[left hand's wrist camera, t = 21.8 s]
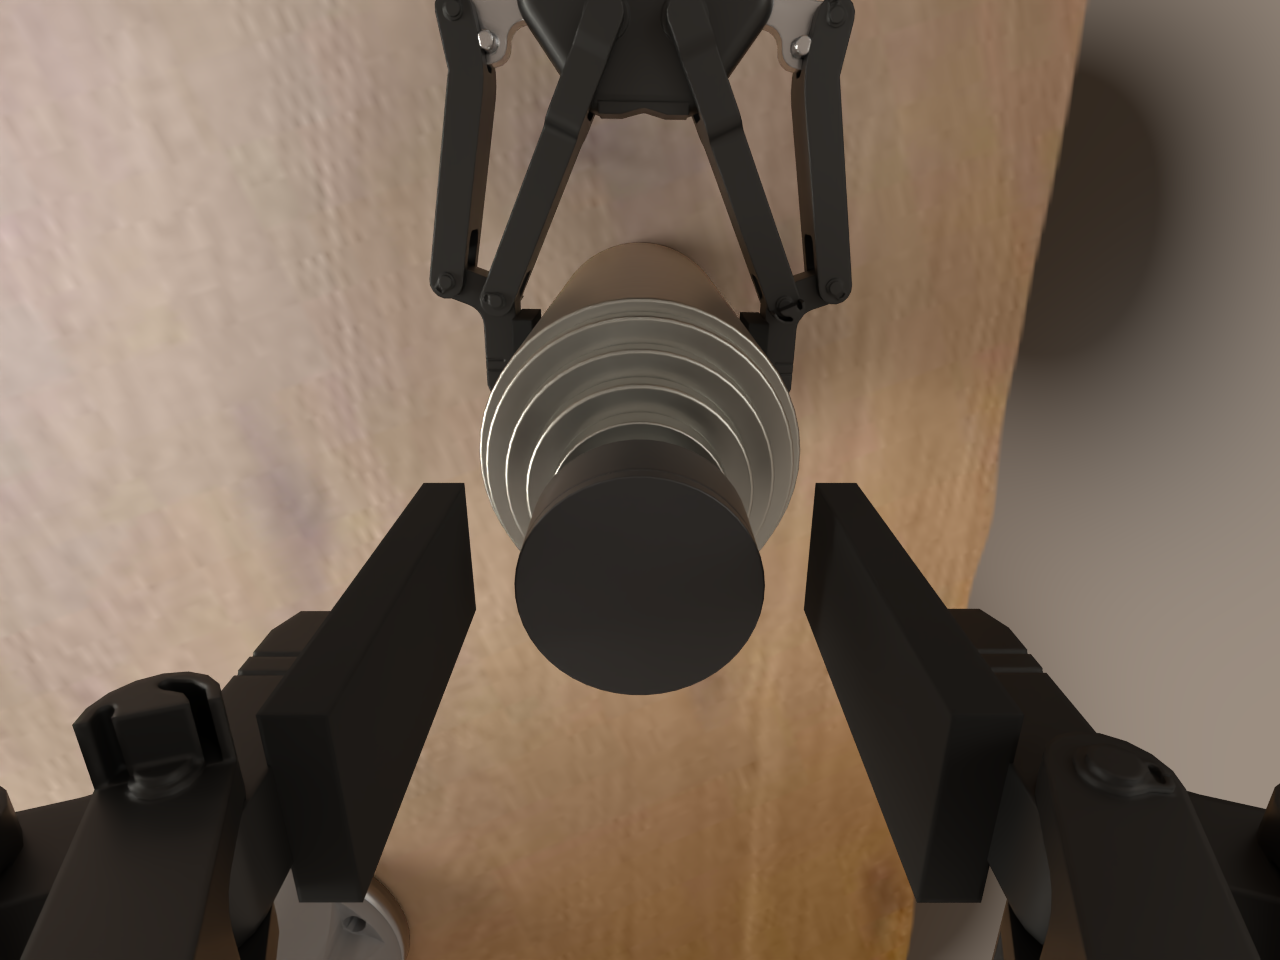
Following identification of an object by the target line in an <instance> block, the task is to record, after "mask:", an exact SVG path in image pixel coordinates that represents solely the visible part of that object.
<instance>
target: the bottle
mask: <svg viewBox="0 0 1280 960" xmlns="http://www.w3.org/2000/svg"><path fill="white" fill-rule="evenodd" d="M633 439H642V440H655V441H663V442H667V443H671V444H675V445H678V446H681V447H683V448H686V449H688V450H691V451H693V452H694V453H696V454H698V455H700V456H702V457H703V458H705V459H706V460H708V461H709V462H710V463H712V464H713V465H714V466H716V467H717V468H718V469H719V470H720V471H721V472H722V473H723V474H724V475H725V476H726V477H727V479H728V480H729V481H730V482H731V484H732V485H733V486H734V488H735V489H736V491H737V493H738V495H739V497H740V498H741V500H742V503H743V505H744V508H745V511H746V513H747V516H748V519H749V523H750V526H751V529H752V532H753V535H754V538H755V541H756V544H757V547H758V550H759V551H760V550H761V549H762V547H763V546H764V545H765V543H766V542H767V540H768V539H769V538H770V536H771V535H772V533H773V532H774V530H775V529H776V527H777V526H778V524H779V522H780V521H781V519H782V517H783V515H784V513H785V511H786V509H787V507H788V505H789V502H790V499H791V496H792V494H793V491H794V488H795V483H796V479H797V474H798V470H799V458H800V440H799V428H798V423H797V418H796V413H795V409H794V406H793V403H792V401H791V398H790V395H789V392H788V390H787V388H786V386H785V384H784V382H783V380H782V378H781V377H780V375H779V373H778V371H777V370H776V369H775V367H774V366H773V364H772V363H771V362H770V360H769V359H768V357H767V356H766V355H765V353H764V352H763V351H762V349H761V348H760V346H759V345H758V344H757V342H756V341H755V340H754V338H753V337H752V336H751V334H750V333H749V332H748V330H747V329H746V327H745V326H744V325H743V323H742V322H741V321H740V319H739V318H738V317H737V315H736V314H735V313H734V311H733V310H732V309H731V307H730V306H729V304H728V303H727V302H726V300H725V299H724V298H723V296H722V295H721V294H720V292H719V291H718V290H717V288H716V287H715V285H714V284H713V283H712V281H711V280H710V279H709V277H708V276H707V275H706V273H705V272H704V271H703V270H702V269H701V268H700V267H699V266H698V265H697V264H696V263H694V262H693V261H692V260H691V259H690V258H688V257H686V256H685V255H683V254H682V253H680V252H678V251H676V250H673V249H671V248H669V247H665V246H662V245H658V244H652V243H628V244H622V245H618V246H615V247H611V248H609V249H606V250H604V251H602V252H600V253H598V254H597V255H595V256H593V257H592V258H590V259H589V260H588V261H587V262H585V263H584V264H583V265H582V266H581V267H580V268H579V269H578V270H577V271H576V272H575V273H574V274H573V276H572V277H571V278H570V280H569V281H568V282H567V284H566V285H565V286H564V288H563V289H562V291H561V292H560V293H559V295H558V296H557V297H556V299H555V300H554V301H553V303H552V304H551V305H550V307H549V308H548V309H547V311H546V312H545V313H544V315H543V316H542V317H541V319H540V320H539V322H538V323H537V324H536V326H535V327H534V328H533V330H532V331H531V332H530V334H529V335H528V336H527V338H526V339H525V340H524V342H523V343H522V344H521V346H520V347H519V349H518V350H517V351H516V353H515V354H514V355H513V357H512V358H511V359H510V361H509V362H508V364H507V365H506V367H505V368H504V369H503V371H502V372H501V374H500V376H499V378H498V379H497V381H496V383H495V385H494V387H493V389H492V391H491V394H490V397H489V399H488V402H487V405H486V408H485V411H484V416H483V421H482V426H481V432H480V450H479V451H480V463H481V472H482V476H483V481H484V485H485V490H486V492H487V495H488V498H489V500H490V503H491V506H492V508H493V510H494V512H495V514H496V516H497V517H498V519H499V521H500V523H501V525H502V526H503V528H504V529H505V531H506V533H507V534H508V535H509V537H510V538H511V540H512V541H513V542H514V544H515V545H516V547H517V548H518V549H519V550H520V551H521V548H522V545H523V542H524V539H525V536H526V533H527V530H528V527H529V524H530V521H531V518H532V514H533V511H534V509H535V506H536V504H537V501H538V499H539V497H540V495H541V494H542V492H543V490H544V489H545V487H546V485H547V484H548V483H549V482H550V480H551V479H552V478H553V477H554V475H555V474H556V473H558V472H559V471H560V470H561V469H562V468H563V467H564V466H565V465H566V464H568V463H569V462H570V461H572V460H573V459H575V458H576V457H578V456H580V455H581V454H583V453H585V452H587V451H589V450H591V449H594V448H596V447H599V446H601V445H604V444H609V443H612V442H617V441H624V440H633Z"/></svg>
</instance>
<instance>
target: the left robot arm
mask: <svg viewBox="0 0 1280 960" xmlns="http://www.w3.org/2000/svg"><path fill="white" fill-rule="evenodd" d="M475 611H476V604H475V593H474V582H473V571H472V561H471V550H470V539H469V528H468V518H467V507H466V496H465V485H464V483H423V485H422V486H421V487H420V489H419V490H418V492H417V493H416V494H415V496H414V497H413V498H412V500H411V501H410V503H409V504H408V505H407V507H406V508H405V510H404V511H403V512H402V514H401V515H400V516H399V518H398V519H397V521H396V522H395V523H394V525H393V526H392V527H391V529H390V530H389V532H388V533H387V534H386V536H385V537H384V538H383V540H382V541H381V543H380V544H379V545H378V547H377V548H376V550H375V551H374V552H373V554H372V555H371V556H370V558H369V559H368V561H367V562H366V563H365V565H364V566H363V567H362V569H361V570H360V572H359V573H358V574H357V576H356V577H355V578H354V580H353V581H352V583H351V584H350V585H349V587H348V588H347V590H346V591H345V592H344V594H343V595H342V596H341V598H340V599H339V601H338V602H337V603H336V605H335V606H334V607H333V609H332V610H331V611H301V612H299V613H298V614H296V615H294V616H293V617H291V618H290V619H288V620H287V621H285V622H284V623H282V624H281V625H279V626H277V627H276V628H274V629H273V630H271V632H270V633H269V634H268V635H267V636H266V638H265V639H264V640H263V641H262V643H261V644H260V645H259V646H258V647H257V649H256V650H255V651H254V652H253V657H249V658H248V659H247V661H246V662H245V663H244V664H243V665H242V667H241V668H240V669H239V670H238V675H237V676H233V678H232V679H231V680H230V681H229V682H228V684H227V685H226V686H225V687H224V688H223V690H222V691H221V689H220V685H219V683H217V682H216V681H215V680H214V679H212V678H211V677H210V676H208V675H204V674H199V673H193V672H177V673H164V674H160V675H156V676H152V677H149V678H145V679H141V680H137V681H134V682H132V683H130V684H128V685H125V686H123V687H121V688H119V689H117V690H114V691H112V692H110V693H108V694H107V695H105V696H104V697H102V698H101V699H99V700H98V701H96V702H95V703H93V704H92V705H91V706H89V707H88V708H86V709H85V711H84V712H83V713H82V714H81V715H80V717H79V718H78V719H77V720H76V721H75V722H74V724H73V725H72V726H73V728H74V731H75V734H76V737H77V740H78V743H79V746H80V749H81V752H82V755H83V757H84V760H85V763H86V766H87V769H88V772H89V775H90V778H91V781H92V784H93V786H94V789H95V790H94V792H93V794H92V795H89V796H85V797H82V798H77V799H73V800H68V801H64V802H59V803H55V804H50V805H46V806H41V807H37V808H32V809H28V810H23V811H19V812H15V811H14V808H13V806H12V803H11V801H10V798H9V796H8V793H7V791H6V790H5V789H4V788H2V787H1V786H0V960H406V958H407V955H408V951H409V945H410V935H409V928H408V924H407V920H406V918H405V915H404V913H403V911H402V909H401V907H400V906H399V904H398V903H397V901H396V900H395V898H394V897H393V896H392V894H391V893H390V892H389V891H388V890H387V889H386V888H385V887H384V886H383V885H382V884H381V883H380V882H379V881H378V880H376V879H375V878H374V877H373V875H374V873H375V870H376V868H377V865H378V862H379V860H380V857H381V855H382V852H383V849H384V847H385V844H386V842H387V839H388V836H389V834H390V831H391V829H392V826H393V823H394V821H395V818H396V816H397V813H398V810H399V808H400V805H401V803H402V800H403V798H404V795H405V792H406V790H407V787H408V785H409V782H410V779H411V777H412V774H413V772H414V769H415V766H416V764H417V761H418V759H419V756H420V753H421V751H422V748H423V746H424V743H425V741H426V738H427V735H428V733H429V730H430V728H431V725H432V722H433V720H434V717H435V715H436V712H437V709H438V707H439V704H440V702H441V699H442V696H443V694H444V691H445V689H446V686H447V684H448V681H449V678H450V676H451V673H452V671H453V668H454V665H455V663H456V660H457V658H458V655H459V652H460V650H461V647H462V645H463V642H464V639H465V637H466V634H467V632H468V629H469V627H470V624H471V621H472V619H473V616H474V614H475ZM804 611H805V614H806V616H807V619H808V621H809V624H810V627H811V629H812V632H813V634H814V637H815V639H816V642H817V645H818V647H819V650H820V652H821V655H822V658H823V660H824V663H825V665H826V668H827V671H828V673H829V676H830V678H831V681H832V684H833V686H834V689H835V691H836V694H837V696H838V699H839V702H840V704H841V707H842V709H843V712H844V715H845V717H846V720H847V722H848V725H849V728H850V730H851V733H852V735H853V738H854V741H855V743H856V746H857V748H858V751H859V753H860V756H861V759H862V761H863V764H864V766H865V769H866V772H867V774H868V777H869V779H870V782H871V785H872V787H873V790H874V792H875V795H876V798H877V800H878V803H879V805H880V808H881V810H882V813H883V816H884V818H885V821H886V823H887V826H888V829H889V831H890V834H891V836H892V839H893V842H894V844H895V847H896V849H897V852H898V855H899V857H900V860H901V862H902V865H903V868H904V870H905V873H906V875H907V878H908V880H909V883H910V886H911V888H912V891H913V893H914V896H915V899H916V901H917V903H981V900H982V896H983V892H984V887H985V883H986V879H987V874H988V870H989V866H990V867H991V869H992V871H993V873H994V875H995V876H996V878H997V880H998V882H999V884H1000V886H1001V888H1002V890H1003V892H1004V894H1005V896H1006V898H1007V901H1006V905H1005V909H1004V913H1003V917H1002V921H1001V925H1000V929H999V933H998V937H997V941H996V945H995V949H994V953H993V957H992V960H1280V784H1279V785H1277V786H1276V787H1275V788H1274V791H1273V794H1272V796H1271V798H1270V801H1269V804H1268V806H1267V808H1266V809H1263V808H1258V807H1254V806H1249V805H1245V804H1240V803H1235V802H1231V801H1227V800H1222V799H1218V798H1213V797H1208V796H1204V795H1199V794H1196V793H1192V792H1189V791H1186V789H1185V787H1184V786H1183V785H1182V783H1181V782H1180V780H1179V779H1178V777H1177V776H1176V775H1175V773H1174V772H1173V771H1172V770H1171V769H1170V768H1168V767H1167V766H1166V765H1165V764H1163V763H1162V762H1161V761H1160V760H1158V759H1157V758H1156V757H1155V756H1153V755H1152V754H1150V753H1148V752H1146V751H1144V750H1142V749H1140V748H1138V747H1136V746H1134V745H1133V744H1131V743H1129V742H1127V741H1123V740H1120V739H1117V738H1114V737H1110V736H1107V735H1104V734H1100V733H1096V732H1095V731H1094V729H1093V728H1092V727H1091V726H1090V725H1089V723H1088V722H1087V721H1086V720H1085V719H1084V717H1083V716H1082V715H1081V714H1080V713H1079V711H1078V710H1077V709H1076V708H1075V707H1074V705H1073V704H1072V703H1071V702H1070V701H1069V699H1068V698H1067V697H1066V696H1065V695H1064V693H1063V692H1062V691H1061V690H1060V689H1059V688H1058V686H1057V685H1056V684H1055V683H1054V681H1053V680H1052V679H1051V678H1050V677H1049V675H1048V674H1047V673H1043V671H1042V667H1041V666H1040V665H1039V663H1038V662H1037V661H1036V660H1035V659H1034V657H1033V656H1032V655H1031V654H1027V649H1026V648H1025V647H1024V645H1023V644H1022V643H1021V642H1020V641H1019V639H1018V638H1017V637H1016V636H1015V635H1014V633H1013V632H1012V631H1011V630H1010V629H1009V628H1008V627H1007V626H1005V625H1004V624H1002V623H1001V622H999V621H998V620H996V619H994V618H993V617H991V616H990V615H988V614H987V613H985V612H983V611H982V610H980V609H947V607H946V606H945V605H944V603H943V602H942V601H941V599H940V598H939V596H938V595H937V594H936V592H935V591H934V590H933V588H932V587H931V585H930V584H929V583H928V581H927V580H926V579H925V577H924V576H923V574H922V573H921V572H920V570H919V569H918V567H917V566H916V565H915V563H914V562H913V561H912V559H911V558H910V556H909V555H908V554H907V552H906V551H905V550H904V548H903V547H902V545H901V544H900V543H899V541H898V540H897V539H896V537H895V536H894V534H893V533H892V532H891V530H890V529H889V527H888V526H887V525H886V523H885V522H884V521H883V519H882V518H881V516H880V515H879V514H878V512H877V511H876V510H875V508H874V507H873V505H872V504H871V503H870V501H869V500H868V499H867V497H866V496H865V494H864V493H863V492H862V490H861V489H860V487H859V486H858V485H857V483H816V485H815V496H814V507H813V518H812V528H811V539H810V550H809V561H808V571H807V582H806V593H805V604H804Z"/></svg>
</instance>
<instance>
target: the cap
mask: <svg viewBox="0 0 1280 960" xmlns="http://www.w3.org/2000/svg"><path fill="white" fill-rule="evenodd" d="M764 590H765V581H764V570H763V565H762V561H761V556H760V553H759V550H758V547H757V544H756V541H755V538H754V535H753V532H752V529H751V526H750V523H749V519H748V516H747V513H746V511H745V508H744V505H743V503H742V500H741V498H740V497H739V495H738V493H737V491H736V489H735V488H734V486H733V485H732V484H731V482H730V481H729V480H728V479H727V477H726V476H725V475H724V474H723V473H722V472H721V471H720V470H719V469H718V468H717V467H716V466H714V465H713V464H712V463H710V462H709V461H708V460H706V459H705V458H703V457H702V456H700V455H698V454H696V453H694V452H693V451H691V450H688V449H686V448H683V447H681V446H678V445H675V444H671V443H667V442H663V441H655V440H642V439H633V440H624V441H617V442H612V443H609V444H604V445H601V446H599V447H596V448H594V449H591V450H589V451H587V452H585V453H583V454H581V455H580V456H578V457H576V458H575V459H573V460H572V461H570V462H569V463H568V464H566V465H565V466H564V467H563V468H562V469H561V470H560V471H559V472H558V473H556V474H555V475H554V477H553V478H552V479H551V480H550V482H549V483H548V484H547V485H546V487H545V489H544V490H543V492H542V494H541V495H540V497H539V499H538V501H537V504H536V506H535V509H534V511H533V514H532V518H531V521H530V524H529V527H528V530H527V533H526V536H525V539H524V542H523V545H522V548H521V551H520V554H519V558H518V562H517V566H516V573H515V598H516V603H517V608H518V612H519V615H520V618H521V621H522V623H523V626H524V628H525V629H526V631H527V633H528V635H529V637H530V639H531V640H532V641H533V643H534V644H535V646H536V647H537V648H538V650H539V651H540V652H541V653H542V654H543V655H544V656H545V657H546V658H547V659H548V660H549V661H550V662H551V663H552V664H553V665H555V666H556V667H557V668H558V669H559V670H561V671H562V672H564V673H566V674H567V675H569V676H570V677H572V678H574V679H576V680H578V681H580V682H582V683H584V684H586V685H589V686H592V687H594V688H597V689H600V690H604V691H609V692H613V693H619V694H627V695H651V694H661V693H666V692H671V691H676V690H679V689H682V688H685V687H688V686H691V685H693V684H695V683H697V682H700V681H702V680H704V679H706V678H707V677H709V676H711V675H712V674H714V673H716V672H717V671H718V670H720V669H721V668H722V667H724V666H725V665H726V664H727V663H729V662H730V661H731V660H732V659H733V658H734V657H735V656H736V655H737V654H738V653H739V651H740V650H741V649H742V647H743V646H744V645H745V643H746V642H747V641H748V639H749V637H750V636H751V634H752V632H753V630H754V629H755V626H756V624H757V621H758V619H759V616H760V614H761V609H762V605H763V601H764Z"/></svg>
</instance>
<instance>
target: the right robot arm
mask: <svg viewBox="0 0 1280 960" xmlns="http://www.w3.org/2000/svg"><path fill="white" fill-rule="evenodd" d="M435 13H436V17H437V22H438V26H439V31H440V35H441V40H442V44H443V49H444V53H445V58H446V62H447V67H448V77H447V88H446V99H445V111H444V122H443V133H442V144H441V156H440V167H439V178H438V189H437V200H436V212H435V223H434V234H433V245H432V256H431V268H430V286H431V288H432V290H433V292H435V293H436V294H437V295H438V296H440V297H442V298H452V299H455V300H458V301H460V302H463V303H466V304H468V305H470V306H472V307H474V308H475V309H476V310H478V312H479V313H480V314H481V316H482V319H483V322H484V332H485V349H486V365H487V382H488V387H489V389H490V391H492V389H493V387H494V385H495V383H496V381H497V379H498V378H499V376H500V374H501V372H502V371H503V369H504V368H505V367H506V365H507V364H508V362H509V361H510V359H511V358H512V357H513V355H514V354H515V353H516V351H517V350H518V349H519V347H520V346H521V344H522V343H523V342H524V340H525V339H526V338H527V336H528V335H529V334H530V332H531V331H532V330H533V328H534V327H535V326H536V324H537V323H538V322H539V320H540V319H541V309H522V310H521V303H520V301H521V300H522V298H523V297H524V296H523V293H524V290H525V288H526V285H527V283H528V280H529V278H530V275H531V272H532V270H533V267H534V265H535V262H536V260H537V257H538V255H539V252H540V250H541V247H542V245H543V242H544V240H545V237H546V235H547V232H548V229H549V227H550V224H551V222H552V219H553V217H554V214H555V212H556V209H557V207H558V204H559V202H560V199H561V197H562V194H563V192H564V189H565V186H566V184H567V181H568V179H569V176H570V174H571V171H572V169H573V166H574V164H575V161H576V159H577V156H578V154H579V151H580V149H581V146H582V144H583V142H584V140H585V138H586V136H587V134H588V131H589V129H590V126H591V124H592V121H593V119H594V116H595V115H598V116H600V117H601V118H604V119H623V118H627V117H630V116H634V115H637V114H641V113H646V114H649V115H652V116H656V117H659V118H662V119H665V120H686V119H687V117H691V116H692V118H693V121H694V124H695V127H696V129H697V132H698V135H699V137H700V140H701V142H702V144H703V146H704V148H705V151H706V153H707V156H708V159H709V162H710V165H711V167H712V170H713V173H714V176H715V178H716V181H717V184H718V187H719V190H720V192H721V195H722V198H723V201H724V203H725V206H726V209H727V212H728V214H729V217H730V220H731V223H732V226H733V228H734V231H735V234H736V237H737V239H738V242H739V245H740V248H741V251H742V253H743V256H744V259H745V262H746V264H747V267H748V270H749V273H750V275H751V278H752V281H753V284H754V287H755V289H756V292H757V295H758V298H759V300H760V303H761V306H760V313H759V312H740V321H741V322H742V323H743V325H744V326H745V327H746V329H747V330H748V332H749V333H750V334H751V336H752V337H753V338H754V340H755V341H756V342H757V344H758V345H759V346H760V348H761V349H762V351H763V352H764V353H765V355H766V356H767V357H768V359H769V360H770V362H771V363H772V364H773V366H774V367H775V369H776V370H777V371H778V373H779V375H780V377H781V378H782V380H783V382H784V384H785V386H786V388H787V390H788V392H790V390H791V382H792V371H793V360H794V349H795V338H796V328H797V324H798V322H799V320H800V319H801V318H802V317H803V315H804V314H805V313H807V312H808V311H810V310H813V309H816V308H819V307H822V306H824V305H827V304H838V303H841V302H843V301H844V300H846V299H847V298H848V296H849V294H850V293H851V288H852V278H851V261H850V244H849V227H848V210H847V193H846V176H845V158H844V141H843V124H842V107H841V90H840V73H841V69H842V65H843V61H844V57H845V54H846V50H847V46H848V42H849V38H850V34H851V30H852V26H853V22H854V16H855V10H854V6H853V3H852V2H851V0H824V1H816V0H436V1H435ZM524 26H528V27H529V29H530V30H531V32H532V33H533V35H534V36H535V38H536V39H537V41H538V42H539V44H540V45H541V47H542V49H543V50H544V52H545V53H546V55H547V56H548V58H549V59H550V61H551V62H552V64H553V65H554V67H555V68H556V70H557V71H558V73H559V74H560V79H559V81H558V84H557V87H556V89H555V92H554V95H553V97H552V100H551V103H550V105H549V108H548V111H547V114H546V118H545V123H544V127H543V130H542V133H541V135H540V138H539V141H538V143H537V146H536V149H535V151H534V154H533V157H532V159H531V162H530V165H529V167H528V170H527V173H526V175H525V178H524V181H523V183H522V186H521V189H520V191H519V194H518V197H517V199H516V202H515V205H514V207H513V210H512V213H511V215H510V218H509V221H508V223H507V226H506V229H505V231H504V234H503V237H502V239H501V242H500V245H499V247H498V250H497V253H496V255H495V258H494V261H493V263H492V266H491V269H490V271H487V270H484V269H482V268H479V267H477V263H478V254H479V245H480V236H481V227H482V218H483V209H484V200H485V191H486V182H487V173H488V164H489V155H490V146H491V137H492V128H493V119H494V110H495V101H496V72H495V67H499V66H502V65H504V64H505V63H506V62H507V61H508V59H509V57H510V54H511V41H512V38H513V35H514V34H515V32H516V31H517V30H518V29H520V28H521V27H524ZM762 30H765V31H767V32H769V33H770V34H771V35H773V37H774V38H775V40H776V43H777V53H778V61H779V63H780V65H781V67H782V68H783V69H785V70H786V71H788V72H792V73H793V75H792V85H791V108H792V120H793V133H794V145H795V158H796V170H797V182H798V195H799V207H800V220H801V232H802V244H803V257H804V269H805V272H803V273H800V274H797V275H794V276H793V275H792V272H791V269H790V266H789V263H788V260H787V257H786V254H785V251H784V248H783V245H782V242H781V240H780V237H779V234H778V231H777V228H776V225H775V222H774V219H773V216H772V213H771V210H770V207H769V204H768V201H767V198H766V195H765V193H764V190H763V187H762V184H761V181H760V178H759V175H758V172H757V169H756V166H755V163H754V160H753V157H752V154H751V151H750V148H749V146H748V143H747V140H746V137H745V134H744V131H743V126H742V120H741V116H740V113H739V109H738V107H737V104H736V101H735V98H734V95H733V92H732V89H731V86H730V83H729V80H728V78H729V76H730V75H731V74H732V72H733V71H734V69H735V68H736V66H737V65H738V64H739V62H740V61H741V59H742V58H743V56H744V55H745V54H746V52H747V51H748V49H749V48H750V46H751V45H752V44H753V42H754V41H755V39H756V38H757V36H758V35H759V34H760V32H761V31H762Z"/></svg>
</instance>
